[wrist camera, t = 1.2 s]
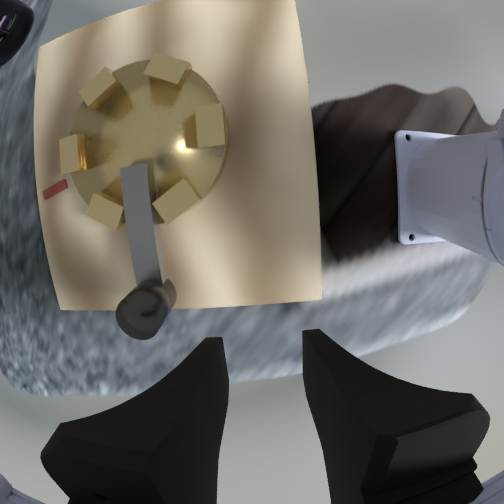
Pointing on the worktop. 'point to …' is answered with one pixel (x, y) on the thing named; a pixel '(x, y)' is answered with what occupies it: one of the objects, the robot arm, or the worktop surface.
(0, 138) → the worktop surface
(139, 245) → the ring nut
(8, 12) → the supplement bottle
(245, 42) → the base board
